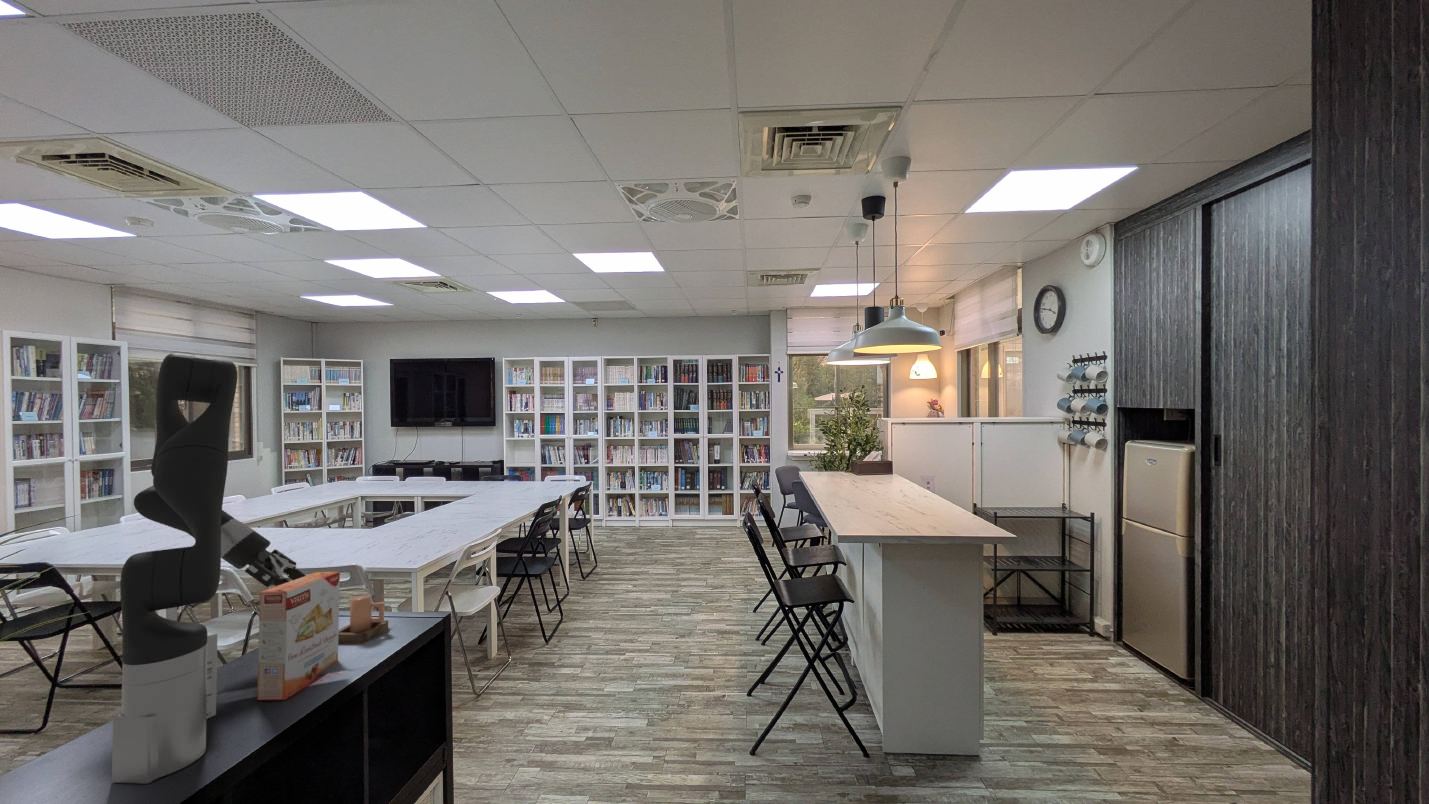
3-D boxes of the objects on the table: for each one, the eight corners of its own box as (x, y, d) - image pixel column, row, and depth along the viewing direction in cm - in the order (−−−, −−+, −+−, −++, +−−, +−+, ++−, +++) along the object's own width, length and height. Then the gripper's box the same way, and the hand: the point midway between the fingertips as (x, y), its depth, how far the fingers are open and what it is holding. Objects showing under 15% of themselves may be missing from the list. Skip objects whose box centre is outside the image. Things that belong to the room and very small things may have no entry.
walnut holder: (364, 650, 121) (364, 635, 121) (326, 650, 122) (326, 635, 122) (393, 633, 130) (393, 619, 131) (357, 633, 131) (357, 619, 131)
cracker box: (286, 701, 99) (287, 590, 100) (255, 702, 99) (256, 591, 100) (341, 667, 113) (341, 570, 114) (313, 667, 113) (314, 570, 114)
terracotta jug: (382, 634, 126) (382, 597, 127) (347, 640, 123) (348, 602, 124) (385, 628, 130) (385, 592, 131) (351, 634, 127) (352, 596, 128)
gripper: (240, 536, 112) (305, 581, 116) (263, 525, 125) (321, 566, 129) (207, 564, 110) (275, 609, 114) (235, 550, 122) (295, 591, 127)
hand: (300, 586), depth 122 cm, fingers open, 8 cm apart
